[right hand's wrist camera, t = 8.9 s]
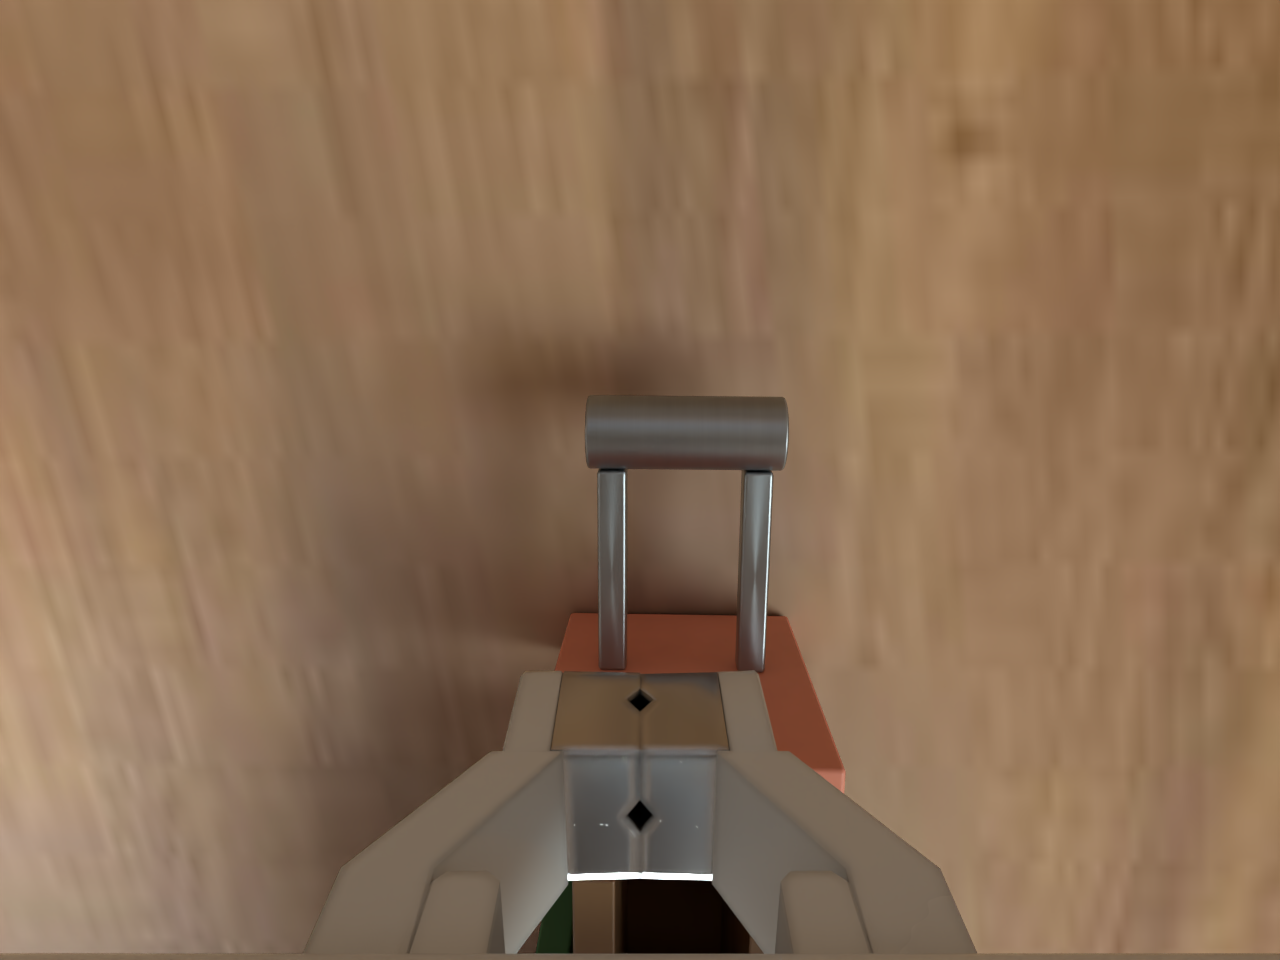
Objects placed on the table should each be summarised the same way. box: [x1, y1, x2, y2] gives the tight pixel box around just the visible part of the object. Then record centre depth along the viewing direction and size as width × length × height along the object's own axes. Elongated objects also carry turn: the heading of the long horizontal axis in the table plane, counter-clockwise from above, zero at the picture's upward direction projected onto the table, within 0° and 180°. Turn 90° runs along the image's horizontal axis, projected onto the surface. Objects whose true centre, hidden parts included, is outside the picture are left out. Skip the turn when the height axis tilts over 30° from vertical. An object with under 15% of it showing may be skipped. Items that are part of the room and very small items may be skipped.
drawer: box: [555, 395, 846, 954], centre depth 19 cm, size 24×6×7 cm, turn 0°
